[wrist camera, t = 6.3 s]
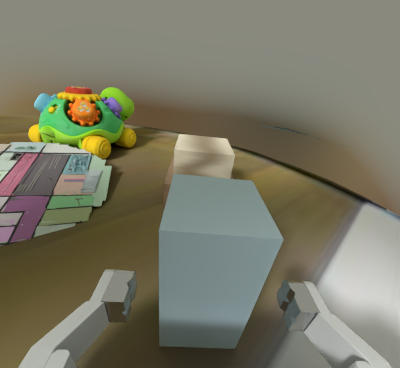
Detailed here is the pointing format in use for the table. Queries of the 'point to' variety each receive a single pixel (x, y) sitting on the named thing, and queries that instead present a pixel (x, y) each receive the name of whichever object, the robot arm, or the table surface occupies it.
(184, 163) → the tower base
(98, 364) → the table surface
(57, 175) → the city model
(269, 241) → the tall brick
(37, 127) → the turtle toy
